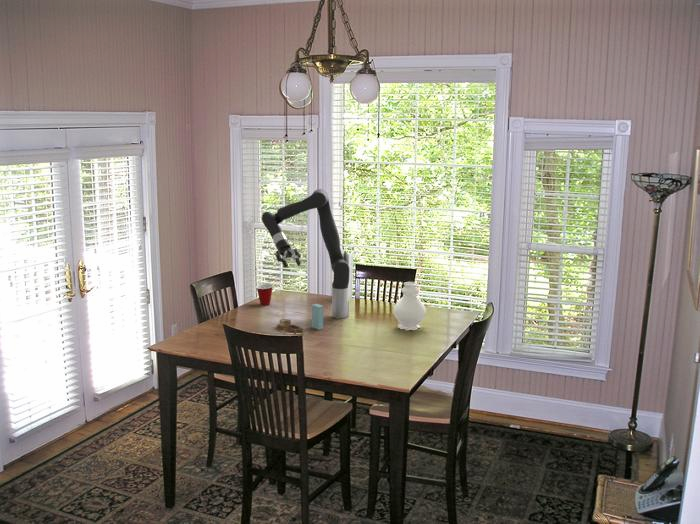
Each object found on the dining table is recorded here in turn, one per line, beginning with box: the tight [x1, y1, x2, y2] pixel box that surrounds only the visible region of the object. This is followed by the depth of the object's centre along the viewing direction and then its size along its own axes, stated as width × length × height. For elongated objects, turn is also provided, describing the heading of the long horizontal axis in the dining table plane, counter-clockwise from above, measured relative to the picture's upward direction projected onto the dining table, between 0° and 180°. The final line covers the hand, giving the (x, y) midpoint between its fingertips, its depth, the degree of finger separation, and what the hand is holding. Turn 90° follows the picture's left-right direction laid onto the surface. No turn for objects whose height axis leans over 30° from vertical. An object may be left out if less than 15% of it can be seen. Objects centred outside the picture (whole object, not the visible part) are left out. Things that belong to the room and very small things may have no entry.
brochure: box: [341, 249, 354, 301], centre depth 455 cm, size 14×6×30 cm, turn 168°
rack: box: [272, 323, 315, 336], centre depth 384 cm, size 14×21×3 cm, turn 40°
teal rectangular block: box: [311, 303, 324, 330], centre depth 388 cm, size 3×6×13 cm, turn 40°
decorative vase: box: [393, 281, 427, 331], centre depth 395 cm, size 18×18×25 cm
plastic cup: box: [255, 283, 274, 307], centre depth 437 cm, size 11×11×12 cm
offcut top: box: [279, 317, 292, 325], centre depth 388 cm, size 5×4×2 cm
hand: (293, 265), depth 394 cm, fingers open, 8 cm apart
